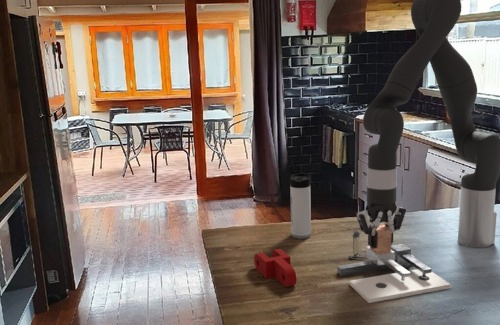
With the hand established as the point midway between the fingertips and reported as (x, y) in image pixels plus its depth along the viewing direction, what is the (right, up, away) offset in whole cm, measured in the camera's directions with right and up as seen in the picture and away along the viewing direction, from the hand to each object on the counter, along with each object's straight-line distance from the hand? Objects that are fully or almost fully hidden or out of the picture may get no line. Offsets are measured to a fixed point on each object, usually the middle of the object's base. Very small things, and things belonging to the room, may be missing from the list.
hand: (380, 246), depth 131 cm
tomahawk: (-2, -4, +16) cm, 17 cm away
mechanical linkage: (-27, -8, -1) cm, 28 cm away
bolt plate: (+2, -8, -9) cm, 13 cm away
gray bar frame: (+1, -7, -4) cm, 8 cm away
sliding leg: (+1, -6, -3) cm, 7 cm away
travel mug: (-18, -1, +27) cm, 33 cm away
